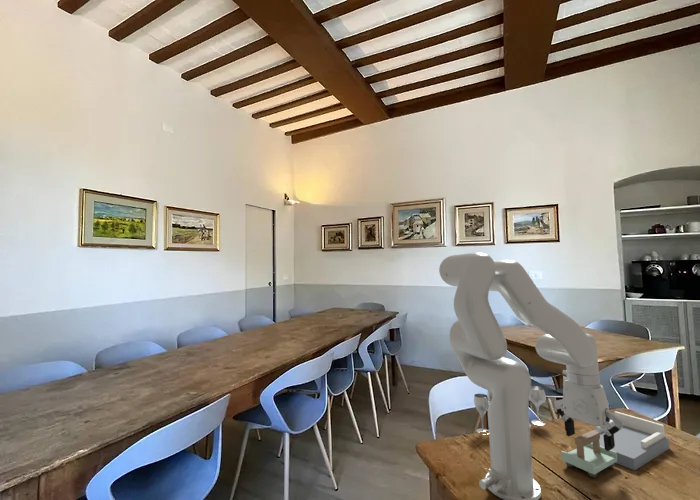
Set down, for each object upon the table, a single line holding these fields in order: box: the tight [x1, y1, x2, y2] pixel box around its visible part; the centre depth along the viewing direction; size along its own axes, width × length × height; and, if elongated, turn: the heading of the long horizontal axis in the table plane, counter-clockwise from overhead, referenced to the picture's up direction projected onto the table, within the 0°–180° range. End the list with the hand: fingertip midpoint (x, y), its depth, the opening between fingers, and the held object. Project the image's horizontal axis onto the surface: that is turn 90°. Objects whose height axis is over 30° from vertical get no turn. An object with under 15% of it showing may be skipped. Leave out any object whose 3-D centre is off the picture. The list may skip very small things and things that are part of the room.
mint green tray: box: [560, 429, 617, 479], centre depth 93 cm, size 12×8×8 cm, turn 119°
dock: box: [592, 411, 670, 471], centre depth 102 cm, size 22×14×6 cm, turn 119°
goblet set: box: [473, 385, 547, 436], centre depth 118 cm, size 28×6×13 cm, turn 104°
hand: (589, 441), depth 93 cm, fingers open, 9 cm apart
